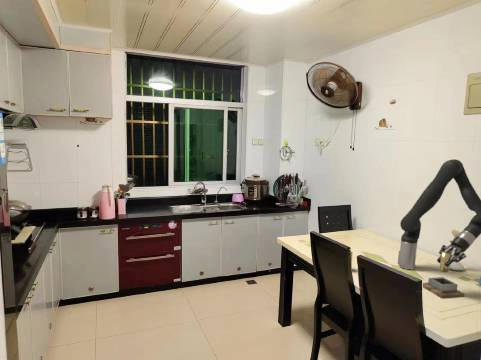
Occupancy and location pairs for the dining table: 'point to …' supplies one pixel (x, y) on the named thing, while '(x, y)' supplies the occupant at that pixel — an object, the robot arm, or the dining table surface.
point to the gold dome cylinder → (444, 258)
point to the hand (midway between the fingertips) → (442, 263)
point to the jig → (442, 287)
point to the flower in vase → (455, 265)
